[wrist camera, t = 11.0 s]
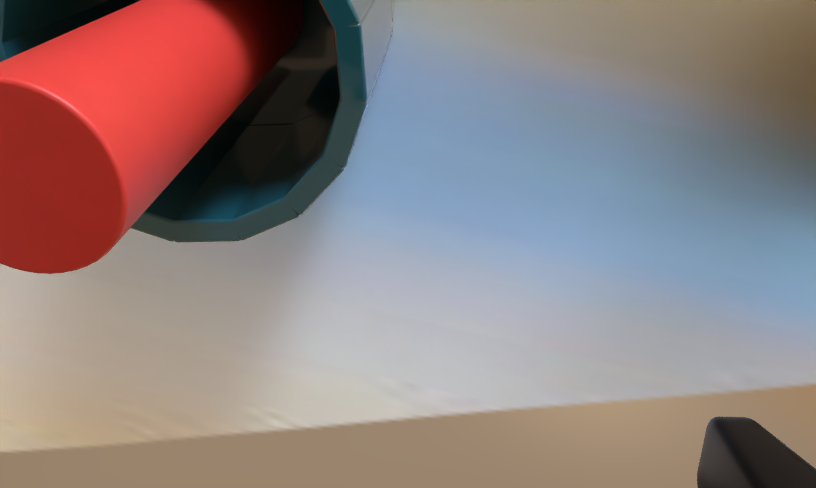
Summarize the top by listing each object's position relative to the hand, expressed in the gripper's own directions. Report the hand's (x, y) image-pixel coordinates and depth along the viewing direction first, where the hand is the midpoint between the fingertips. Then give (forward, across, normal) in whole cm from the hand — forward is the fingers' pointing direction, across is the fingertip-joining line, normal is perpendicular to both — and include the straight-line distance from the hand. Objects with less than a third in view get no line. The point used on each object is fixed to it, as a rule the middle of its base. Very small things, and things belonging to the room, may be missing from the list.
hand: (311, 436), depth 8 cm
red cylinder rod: (+12, +4, -3) cm, 13 cm away
